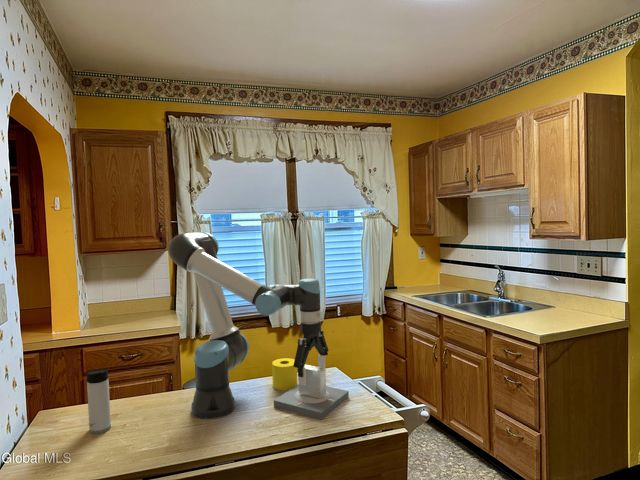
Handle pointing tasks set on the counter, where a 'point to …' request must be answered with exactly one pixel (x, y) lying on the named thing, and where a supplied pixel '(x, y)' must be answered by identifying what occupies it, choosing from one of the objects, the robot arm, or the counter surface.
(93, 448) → the counter surface
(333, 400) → the dial plate
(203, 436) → the counter surface
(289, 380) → the yellow toilet paper roll
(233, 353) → the robot arm
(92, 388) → the travel mug
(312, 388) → the dial handle
